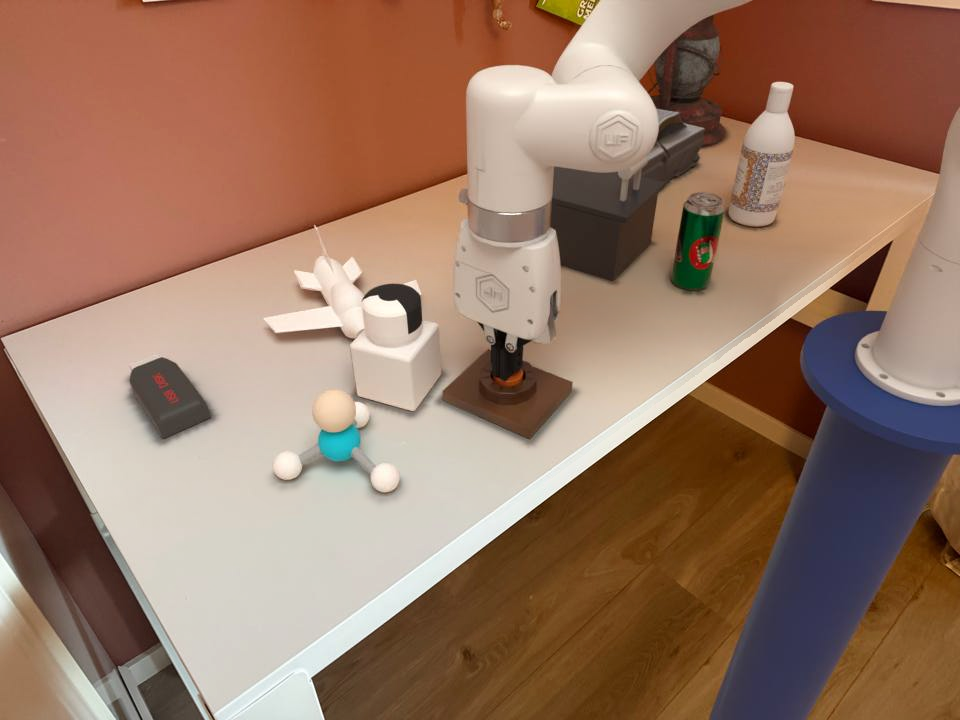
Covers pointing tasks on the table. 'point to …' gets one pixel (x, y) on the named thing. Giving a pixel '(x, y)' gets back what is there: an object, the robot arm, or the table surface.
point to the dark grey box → (601, 239)
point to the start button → (510, 379)
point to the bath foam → (764, 161)
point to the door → (605, 191)
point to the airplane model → (329, 298)
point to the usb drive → (167, 395)
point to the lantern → (691, 79)
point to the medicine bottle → (395, 348)
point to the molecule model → (338, 440)
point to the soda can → (697, 240)
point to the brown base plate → (508, 396)
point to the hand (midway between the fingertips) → (506, 371)
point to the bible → (673, 148)
